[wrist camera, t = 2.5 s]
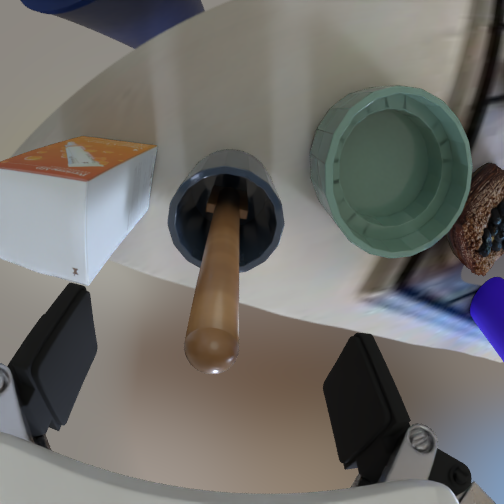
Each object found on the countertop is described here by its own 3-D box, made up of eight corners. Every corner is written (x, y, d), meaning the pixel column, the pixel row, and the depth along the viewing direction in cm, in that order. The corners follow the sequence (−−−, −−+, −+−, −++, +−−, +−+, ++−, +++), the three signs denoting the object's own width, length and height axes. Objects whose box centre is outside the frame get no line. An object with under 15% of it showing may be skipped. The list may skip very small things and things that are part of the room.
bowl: (330, 66, 21) (352, 56, 16) (452, 122, 23) (487, 130, 18) (290, 214, 27) (301, 240, 22) (411, 243, 29) (437, 269, 24)
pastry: (432, 212, 27) (463, 235, 22) (493, 149, 24) (527, 162, 18) (460, 272, 31) (485, 297, 26) (513, 215, 28) (541, 233, 22)
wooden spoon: (214, 178, 25) (161, 339, 8) (248, 185, 25) (264, 355, 8) (210, 198, 26) (161, 376, 9) (244, 205, 26) (251, 390, 9)
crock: (196, 142, 24) (176, 157, 17) (280, 159, 25) (297, 180, 18) (183, 220, 27) (163, 263, 20) (261, 235, 28) (267, 282, 21)
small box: (159, 144, 24) (89, 180, 12) (149, 210, 26) (89, 290, 15) (81, 133, 22) (-16, 165, 11) (76, 196, 25) (-7, 259, 14)
